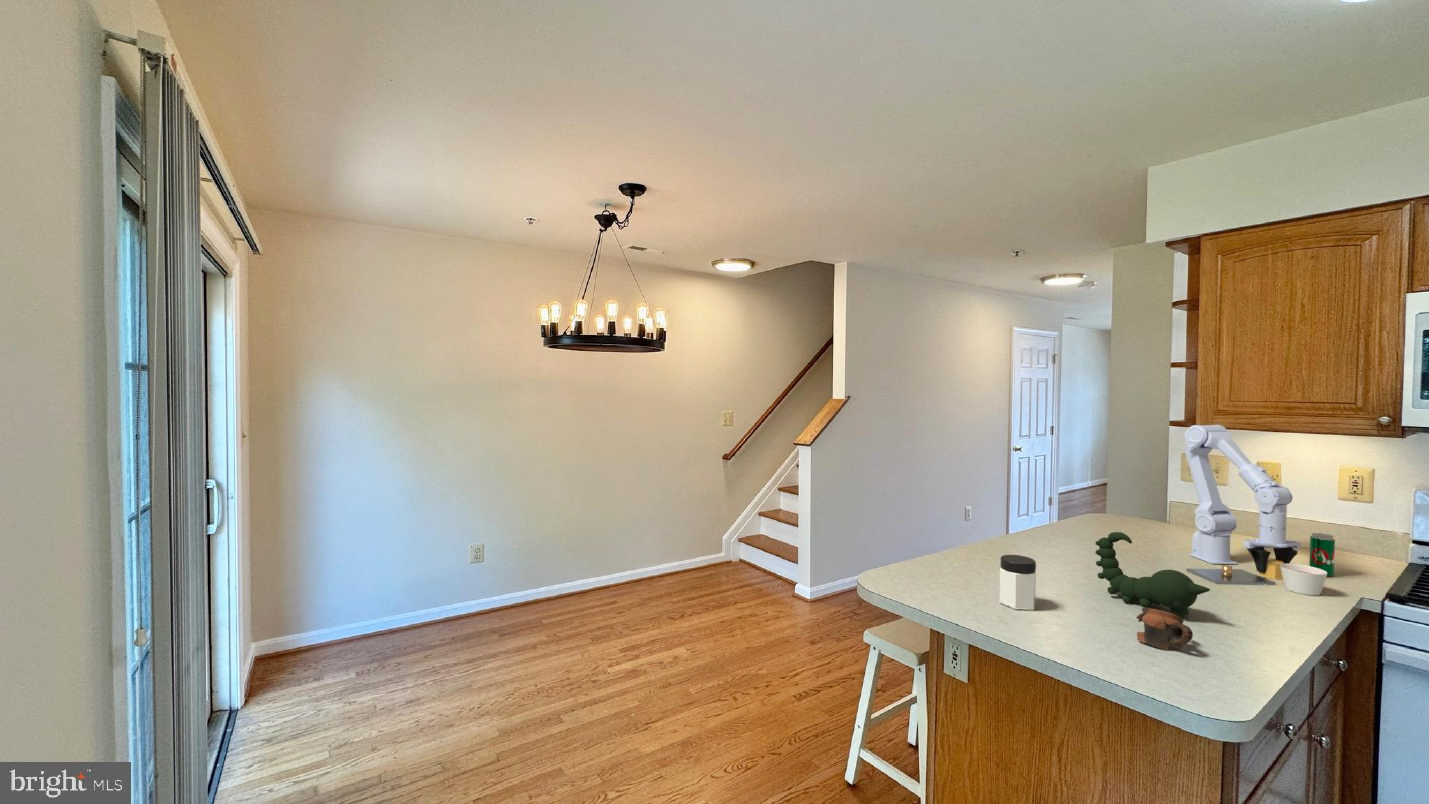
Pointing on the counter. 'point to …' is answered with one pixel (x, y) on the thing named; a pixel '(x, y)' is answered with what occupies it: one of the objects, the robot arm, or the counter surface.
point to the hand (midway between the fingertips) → (1271, 572)
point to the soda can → (1322, 552)
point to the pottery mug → (1163, 629)
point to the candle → (1303, 578)
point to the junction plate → (1235, 577)
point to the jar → (1017, 581)
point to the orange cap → (1273, 569)
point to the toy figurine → (1146, 581)
